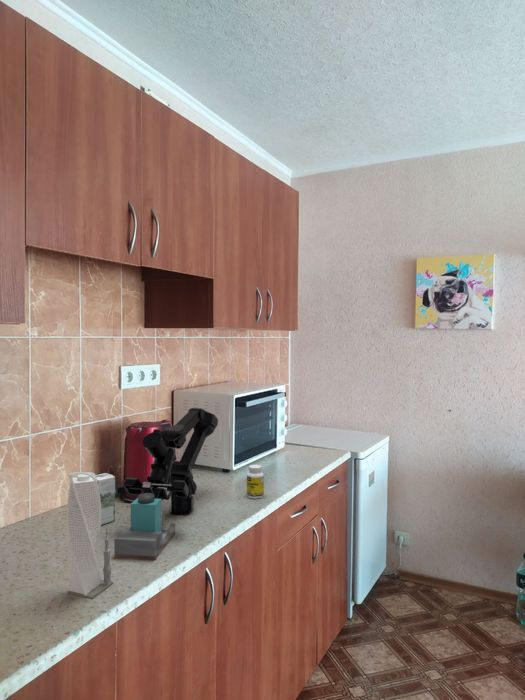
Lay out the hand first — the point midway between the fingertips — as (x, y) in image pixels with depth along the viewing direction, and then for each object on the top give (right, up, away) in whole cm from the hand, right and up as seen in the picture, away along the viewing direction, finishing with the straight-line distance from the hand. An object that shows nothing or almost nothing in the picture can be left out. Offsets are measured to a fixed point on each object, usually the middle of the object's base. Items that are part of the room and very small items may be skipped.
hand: (148, 515), depth 138 cm
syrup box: (-18, -7, +14) cm, 24 cm away
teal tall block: (0, -6, -3) cm, 7 cm away
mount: (0, -7, -3) cm, 8 cm away
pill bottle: (+30, -6, +38) cm, 49 cm away
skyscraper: (-8, -8, -26) cm, 29 cm away
